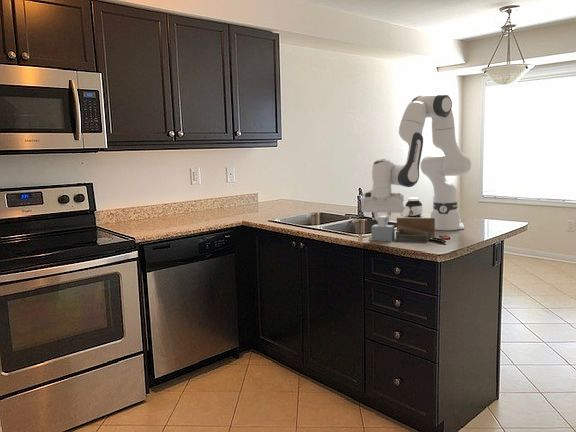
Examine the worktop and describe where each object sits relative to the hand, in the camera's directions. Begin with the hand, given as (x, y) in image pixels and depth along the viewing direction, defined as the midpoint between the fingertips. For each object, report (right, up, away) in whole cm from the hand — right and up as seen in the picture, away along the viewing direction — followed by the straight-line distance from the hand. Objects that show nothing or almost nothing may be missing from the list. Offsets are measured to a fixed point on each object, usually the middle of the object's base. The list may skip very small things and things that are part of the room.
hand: (382, 221), depth 227 cm
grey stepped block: (+1, -9, +1) cm, 9 cm away
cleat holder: (+14, -9, -3) cm, 17 cm away
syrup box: (+44, 0, +50) cm, 66 cm away
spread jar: (+31, +2, +66) cm, 73 cm away
